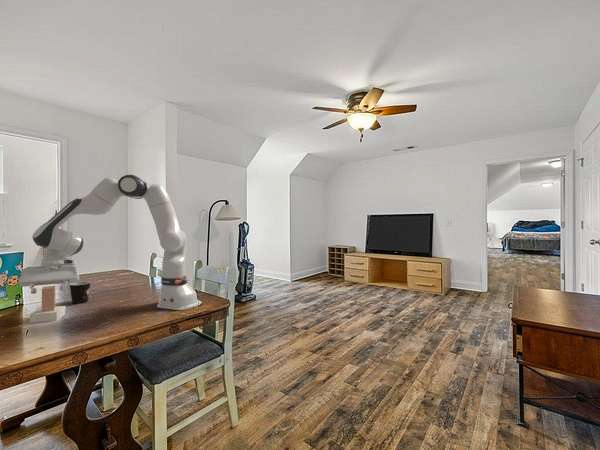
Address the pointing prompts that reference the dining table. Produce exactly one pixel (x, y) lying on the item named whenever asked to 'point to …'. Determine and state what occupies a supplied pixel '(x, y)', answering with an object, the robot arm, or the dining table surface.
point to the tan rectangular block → (48, 298)
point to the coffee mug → (80, 292)
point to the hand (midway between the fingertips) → (48, 291)
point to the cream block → (47, 315)
